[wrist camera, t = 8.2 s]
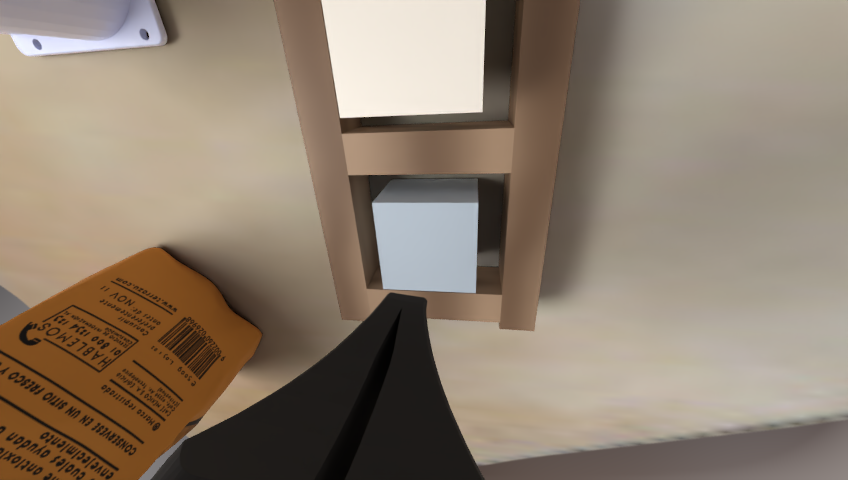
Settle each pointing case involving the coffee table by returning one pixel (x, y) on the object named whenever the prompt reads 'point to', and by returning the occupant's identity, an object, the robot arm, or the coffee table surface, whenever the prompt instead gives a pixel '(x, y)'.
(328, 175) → the block rack
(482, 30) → the cream block
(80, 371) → the coffee package
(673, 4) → the coffee table surface
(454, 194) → the slate block
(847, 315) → the coffee table surface
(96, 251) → the coffee table surface
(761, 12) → the coffee table surface
